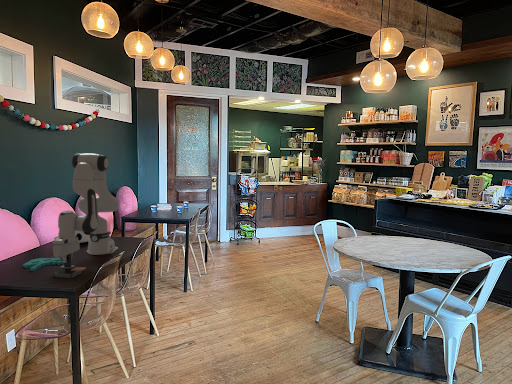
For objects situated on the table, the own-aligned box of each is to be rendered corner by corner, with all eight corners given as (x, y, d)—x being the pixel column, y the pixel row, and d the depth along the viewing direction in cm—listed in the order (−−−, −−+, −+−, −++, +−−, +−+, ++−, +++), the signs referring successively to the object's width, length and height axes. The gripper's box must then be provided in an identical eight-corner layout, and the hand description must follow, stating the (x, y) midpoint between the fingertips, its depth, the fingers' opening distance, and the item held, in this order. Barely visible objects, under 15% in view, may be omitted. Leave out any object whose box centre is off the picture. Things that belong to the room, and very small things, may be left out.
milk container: (62, 243, 286) (61, 220, 284) (80, 239, 302) (80, 217, 300) (78, 246, 279) (78, 222, 278) (97, 241, 295) (96, 219, 293)
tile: (76, 268, 223) (76, 266, 223) (86, 269, 223) (86, 267, 223) (70, 271, 217) (70, 269, 217) (80, 272, 217) (80, 270, 217)
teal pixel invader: (67, 265, 231) (53, 259, 243) (67, 261, 230) (53, 256, 243) (31, 272, 215) (18, 265, 228) (31, 268, 215) (18, 262, 228)
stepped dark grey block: (64, 266, 226) (64, 253, 226) (75, 266, 226) (74, 254, 225) (60, 268, 222) (59, 255, 222) (71, 268, 222) (70, 255, 221)
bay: (63, 272, 215) (63, 268, 214) (81, 273, 213) (81, 269, 213) (53, 276, 206) (53, 273, 206) (71, 278, 204) (71, 274, 204)
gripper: (72, 234, 233) (73, 256, 234) (50, 241, 213) (51, 265, 214) (82, 235, 232) (82, 257, 234) (61, 242, 212) (61, 266, 213)
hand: (67, 261), depth 224 cm, fingers closed on stepped dark grey block, 2 cm apart
